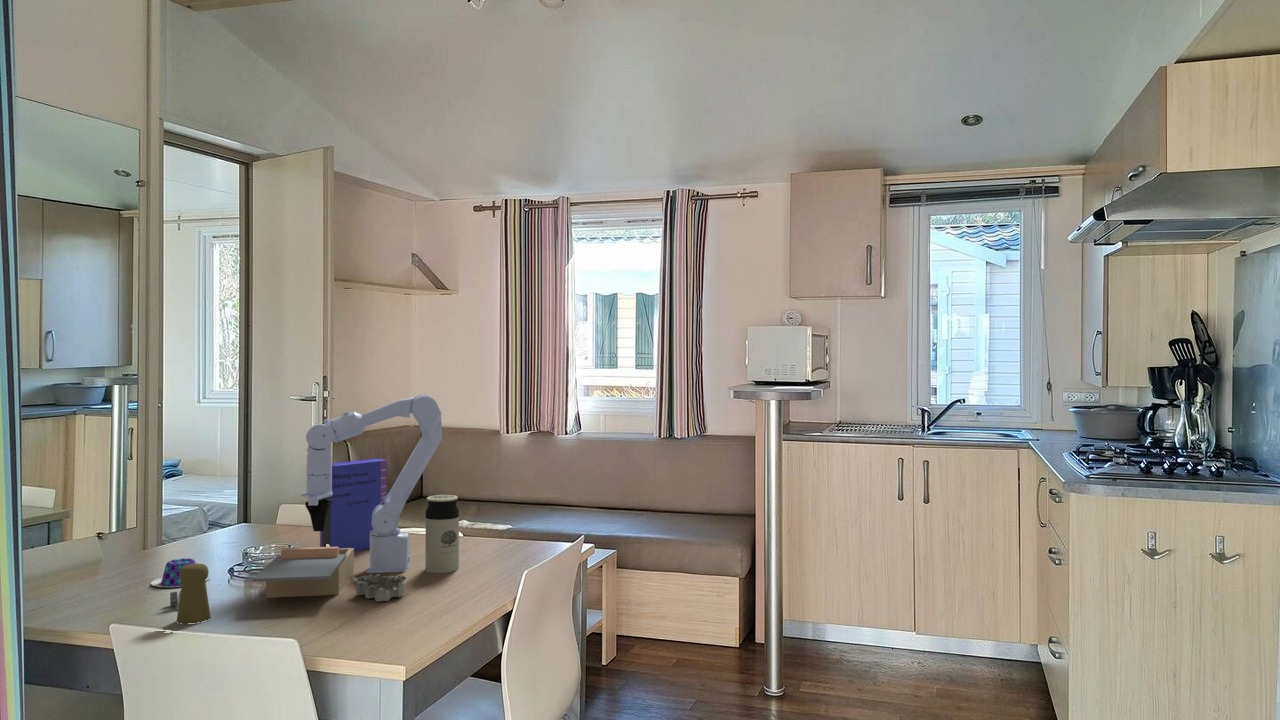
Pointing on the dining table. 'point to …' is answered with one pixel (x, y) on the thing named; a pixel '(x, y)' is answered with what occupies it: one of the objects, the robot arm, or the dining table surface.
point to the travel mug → (442, 534)
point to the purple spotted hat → (173, 573)
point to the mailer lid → (302, 564)
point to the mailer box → (315, 581)
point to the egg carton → (380, 586)
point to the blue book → (354, 503)
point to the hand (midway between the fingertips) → (318, 530)
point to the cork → (193, 594)
